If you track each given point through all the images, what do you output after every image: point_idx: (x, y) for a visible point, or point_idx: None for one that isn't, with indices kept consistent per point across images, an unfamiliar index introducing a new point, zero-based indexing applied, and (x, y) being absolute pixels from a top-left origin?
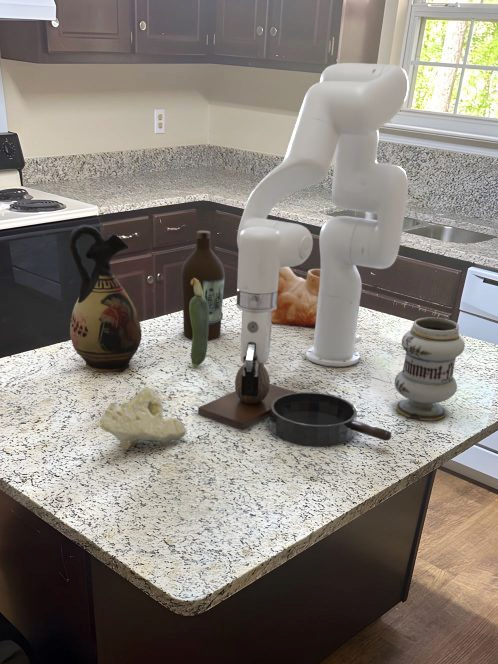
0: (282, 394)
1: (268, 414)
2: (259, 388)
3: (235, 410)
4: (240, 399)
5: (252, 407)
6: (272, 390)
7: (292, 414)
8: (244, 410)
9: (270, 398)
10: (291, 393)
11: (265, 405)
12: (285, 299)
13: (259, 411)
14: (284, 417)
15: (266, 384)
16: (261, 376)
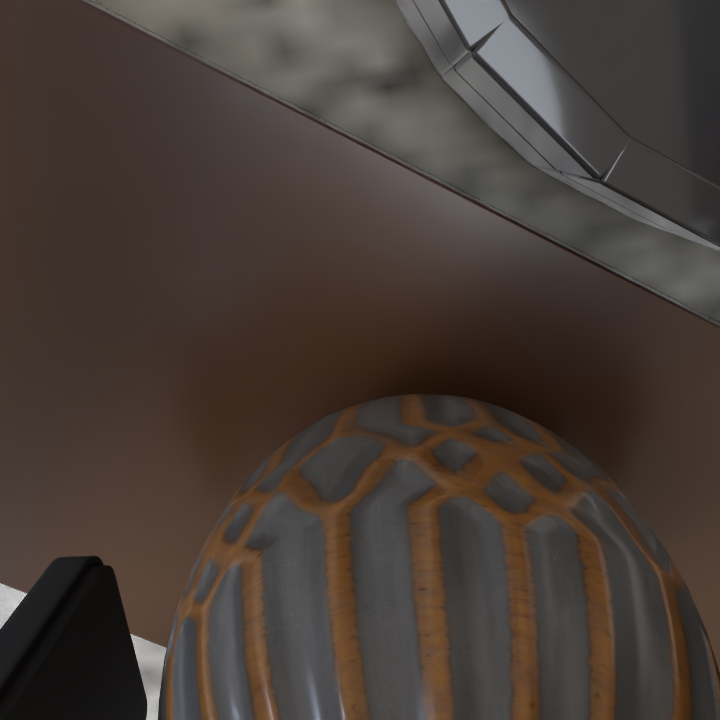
0: (125, 214)
1: (643, 284)
2: (669, 556)
3: (712, 601)
4: None
5: (609, 472)
6: (56, 349)
7: (547, 5)
8: (703, 530)
9: (302, 333)
10: (470, 21)
11: (528, 354)
12: None
13: (713, 389)
14: (651, 94)
15: (579, 495)
16: (687, 699)
